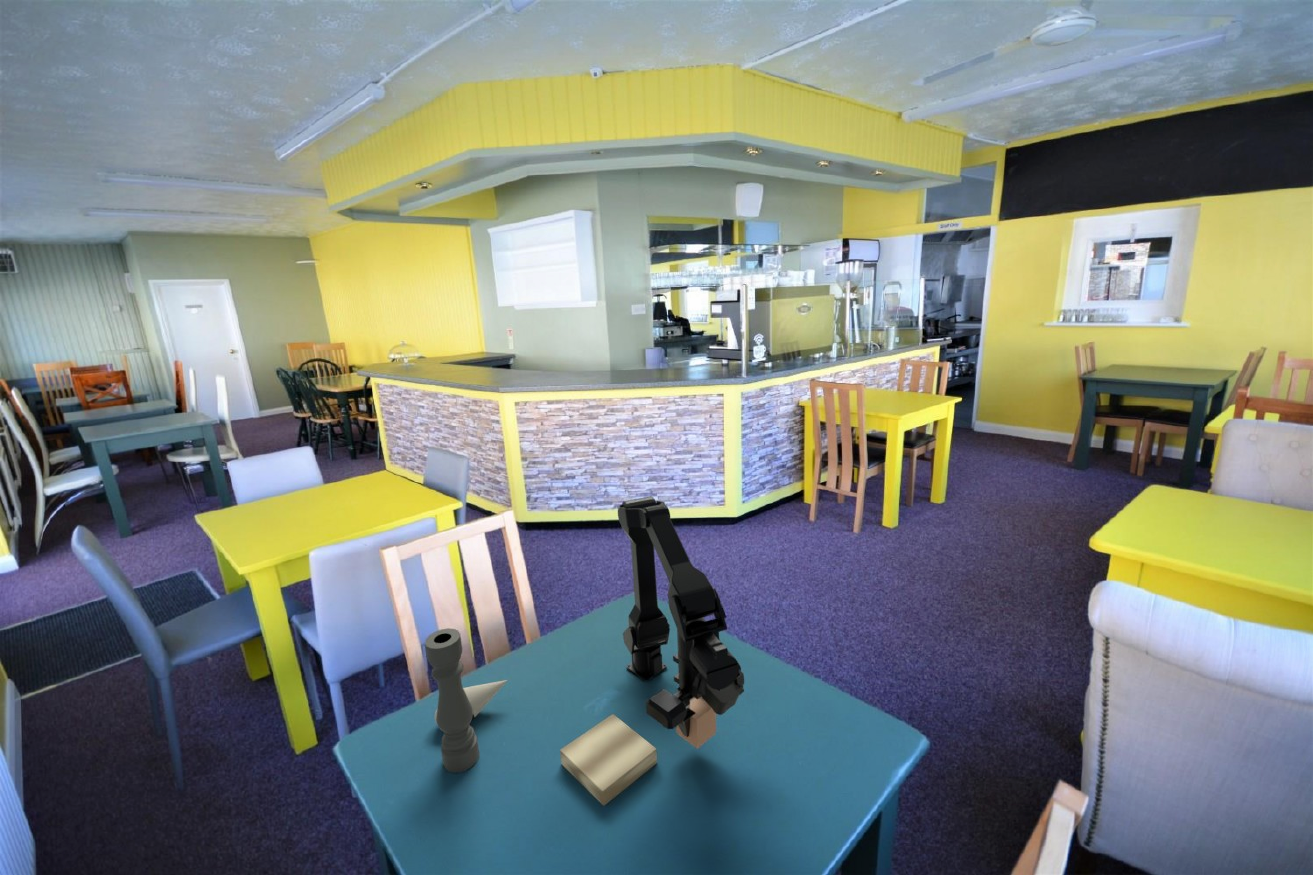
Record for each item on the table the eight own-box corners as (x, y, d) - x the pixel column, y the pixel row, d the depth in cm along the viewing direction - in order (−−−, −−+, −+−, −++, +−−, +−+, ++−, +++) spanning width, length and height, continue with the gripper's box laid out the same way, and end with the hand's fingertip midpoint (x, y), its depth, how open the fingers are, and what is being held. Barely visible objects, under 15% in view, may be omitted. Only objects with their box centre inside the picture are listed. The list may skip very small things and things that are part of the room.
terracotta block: (676, 733, 103) (675, 705, 101) (695, 718, 106) (695, 690, 104) (697, 748, 99) (696, 719, 97) (716, 732, 102) (716, 704, 101)
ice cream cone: (514, 696, 118) (442, 739, 111) (502, 670, 121) (430, 710, 114) (515, 689, 113) (440, 733, 106) (502, 662, 116) (427, 703, 109)
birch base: (561, 763, 102) (560, 749, 101) (613, 726, 109) (612, 713, 109) (603, 805, 93) (602, 791, 92) (657, 762, 101) (656, 748, 100)
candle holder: (486, 757, 104) (468, 636, 97) (454, 778, 99) (433, 654, 93) (468, 739, 108) (450, 623, 101) (437, 760, 103) (416, 639, 97)
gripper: (691, 703, 86) (693, 786, 90) (766, 647, 98) (764, 722, 103) (641, 669, 94) (645, 747, 98) (716, 621, 106) (717, 692, 110)
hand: (696, 727), depth 102 cm, fingers closed on terracotta block, 5 cm apart
